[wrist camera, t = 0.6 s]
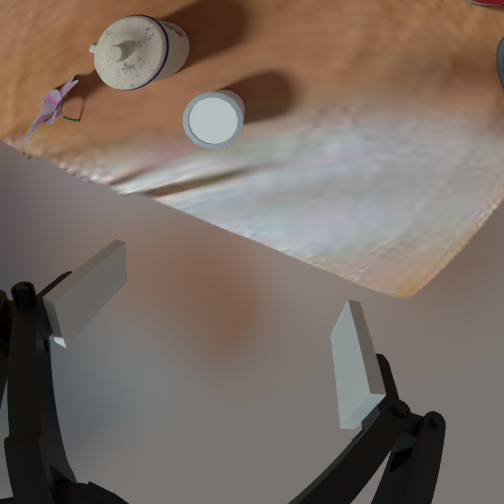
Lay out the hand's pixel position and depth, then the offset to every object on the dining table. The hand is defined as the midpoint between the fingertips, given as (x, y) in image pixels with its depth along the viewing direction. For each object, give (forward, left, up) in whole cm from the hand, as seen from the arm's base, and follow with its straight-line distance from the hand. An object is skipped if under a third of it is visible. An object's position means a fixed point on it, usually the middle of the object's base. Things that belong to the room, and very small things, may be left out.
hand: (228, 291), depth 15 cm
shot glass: (-5, -4, -27) cm, 28 cm away
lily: (-17, -27, -27) cm, 41 cm away
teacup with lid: (-17, -11, -27) cm, 34 cm away
